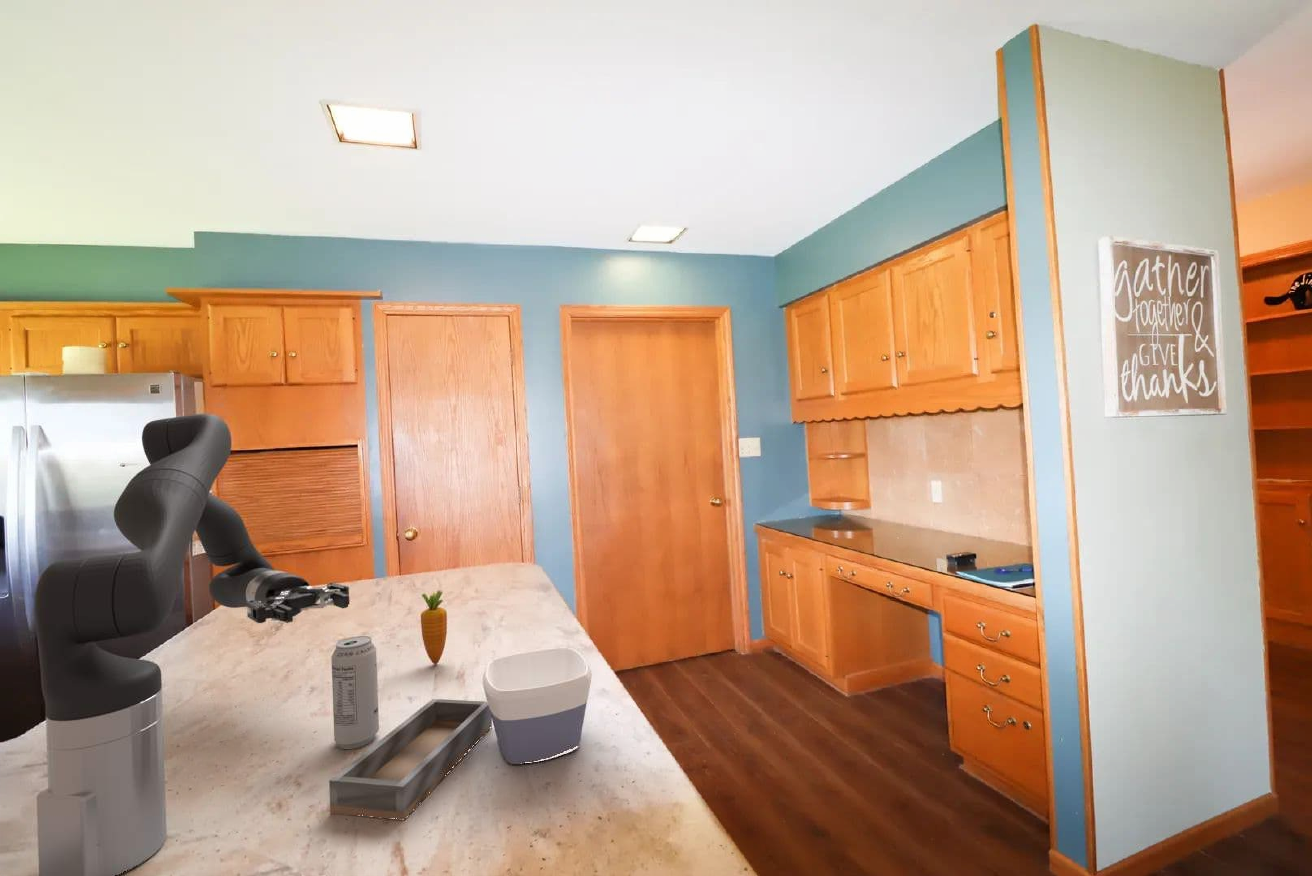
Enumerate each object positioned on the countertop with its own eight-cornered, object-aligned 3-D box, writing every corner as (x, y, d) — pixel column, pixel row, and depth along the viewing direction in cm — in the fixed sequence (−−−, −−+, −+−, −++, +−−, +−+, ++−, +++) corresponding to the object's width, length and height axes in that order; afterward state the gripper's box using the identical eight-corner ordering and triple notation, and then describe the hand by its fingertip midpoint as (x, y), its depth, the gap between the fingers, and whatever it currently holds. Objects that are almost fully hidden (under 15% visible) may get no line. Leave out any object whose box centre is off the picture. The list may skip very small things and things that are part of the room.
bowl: (481, 730, 88) (479, 658, 88) (579, 709, 94) (576, 642, 94) (489, 784, 74) (486, 698, 74) (604, 756, 79) (601, 676, 80)
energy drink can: (386, 737, 87) (383, 638, 87) (346, 755, 82) (342, 651, 82) (367, 726, 91) (364, 632, 91) (327, 743, 86) (323, 643, 86)
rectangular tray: (404, 820, 67) (403, 786, 67) (330, 813, 69) (329, 780, 69) (491, 727, 89) (491, 701, 89) (433, 723, 91) (432, 698, 91)
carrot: (416, 667, 115) (414, 592, 115) (436, 658, 119) (434, 586, 119) (434, 670, 113) (431, 594, 113) (453, 661, 117) (451, 588, 117)
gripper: (230, 581, 97) (269, 596, 88) (319, 564, 109) (362, 576, 99) (231, 625, 97) (270, 645, 88) (320, 603, 109) (363, 619, 99)
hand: (319, 608), depth 93 cm, fingers open, 8 cm apart
